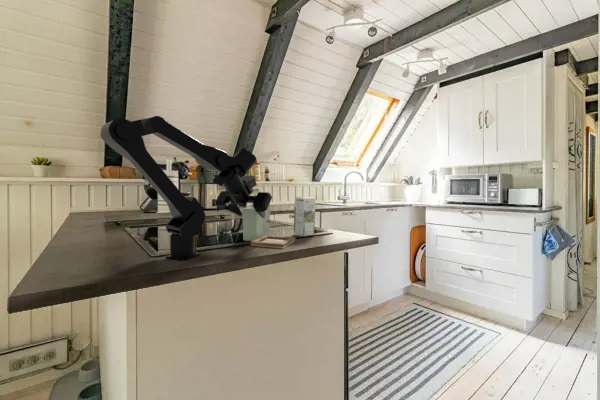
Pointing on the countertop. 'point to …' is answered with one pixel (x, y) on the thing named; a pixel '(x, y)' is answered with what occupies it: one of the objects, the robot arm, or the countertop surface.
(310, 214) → the syrup box
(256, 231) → the pale green tall block
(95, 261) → the countertop surface
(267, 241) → the groove board
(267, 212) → the skincare box
